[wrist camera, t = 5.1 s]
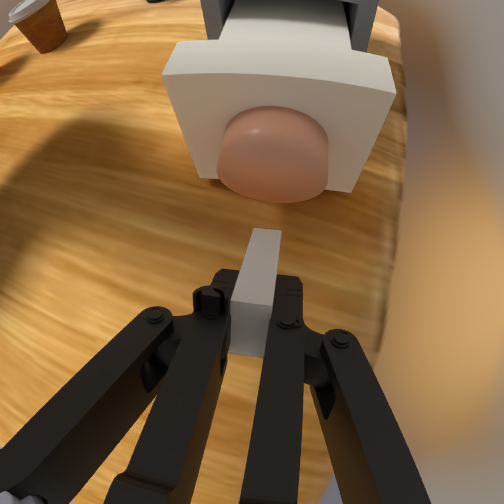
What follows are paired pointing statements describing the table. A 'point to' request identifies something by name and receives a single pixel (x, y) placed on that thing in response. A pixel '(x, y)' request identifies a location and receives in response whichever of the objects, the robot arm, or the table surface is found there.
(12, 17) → the disposable coffee cup
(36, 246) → the table surface
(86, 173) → the table surface
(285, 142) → the white drawer
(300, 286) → the robot arm
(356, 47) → the block
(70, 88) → the table surface
